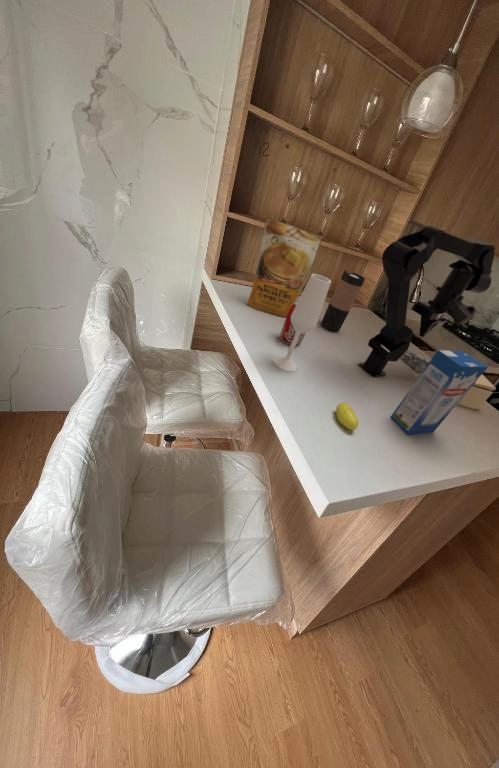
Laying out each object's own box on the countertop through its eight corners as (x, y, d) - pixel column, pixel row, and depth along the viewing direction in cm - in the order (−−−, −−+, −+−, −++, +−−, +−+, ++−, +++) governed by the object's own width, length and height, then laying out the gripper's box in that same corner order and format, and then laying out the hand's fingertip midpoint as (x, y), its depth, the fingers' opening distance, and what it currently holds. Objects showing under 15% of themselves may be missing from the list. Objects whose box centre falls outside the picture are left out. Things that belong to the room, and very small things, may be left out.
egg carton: (431, 375, 113) (438, 365, 111) (416, 374, 110) (423, 364, 108) (410, 357, 121) (417, 348, 119) (396, 356, 118) (402, 346, 116)
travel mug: (335, 335, 117) (362, 281, 106) (316, 325, 119) (340, 271, 108) (342, 330, 122) (367, 278, 112) (324, 321, 125) (347, 269, 114)
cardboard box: (447, 401, 99) (462, 383, 95) (431, 379, 109) (444, 362, 105) (476, 410, 100) (492, 392, 96) (458, 387, 110) (472, 371, 106)
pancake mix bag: (243, 298, 119) (267, 216, 104) (292, 314, 121) (323, 235, 106) (241, 305, 113) (266, 219, 98) (293, 321, 115) (326, 239, 100)
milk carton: (407, 435, 78) (461, 366, 67) (389, 417, 82) (437, 349, 71) (433, 432, 82) (488, 367, 71) (415, 415, 87) (464, 351, 76)
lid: (463, 382, 95) (465, 380, 95) (445, 361, 105) (446, 359, 105) (494, 390, 96) (496, 388, 96) (473, 369, 106) (475, 367, 105)
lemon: (345, 411, 78) (352, 399, 76) (357, 435, 72) (365, 422, 70) (329, 409, 77) (336, 396, 75) (340, 433, 71) (348, 420, 69)
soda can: (275, 340, 99) (289, 303, 92) (282, 333, 104) (296, 297, 98) (296, 350, 97) (312, 313, 91) (302, 342, 103) (317, 307, 97)
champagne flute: (301, 367, 89) (340, 283, 76) (287, 373, 85) (325, 284, 71) (283, 354, 92) (317, 271, 79) (268, 359, 88) (302, 272, 74)
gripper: (464, 299, 81) (427, 352, 90) (494, 302, 92) (458, 349, 100) (426, 280, 88) (396, 331, 96) (458, 285, 98) (428, 330, 107)
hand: (421, 336), depth 100 cm, fingers closed
